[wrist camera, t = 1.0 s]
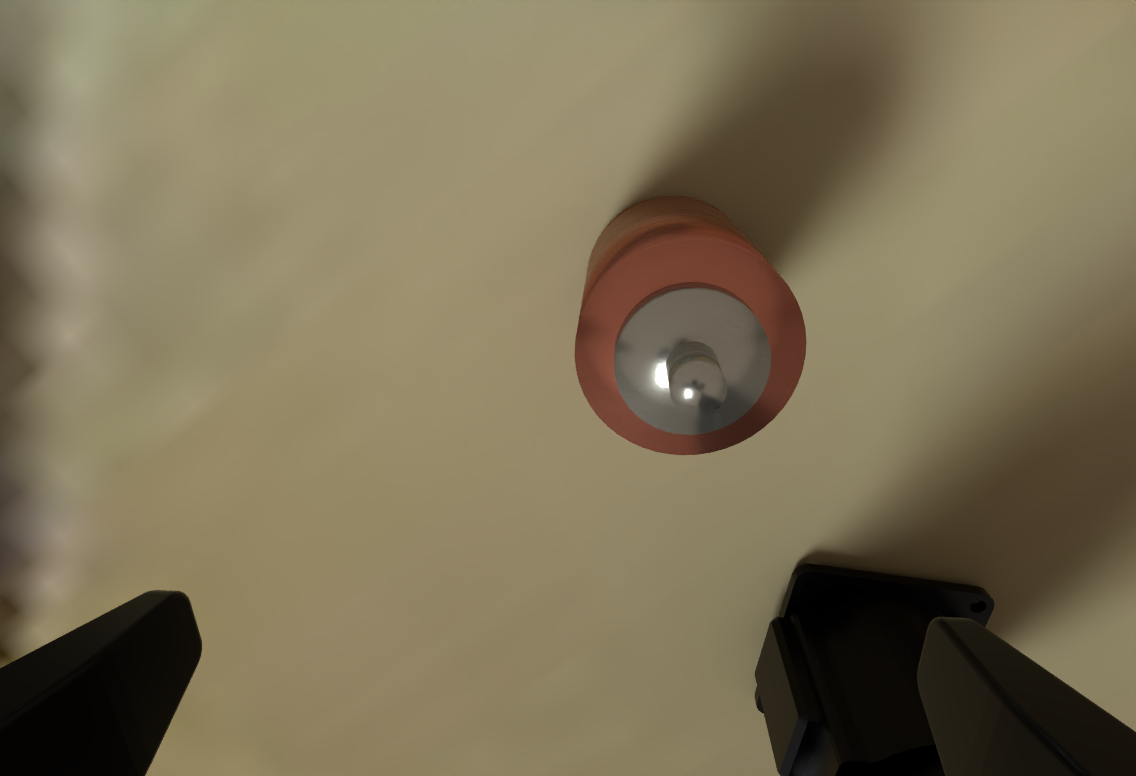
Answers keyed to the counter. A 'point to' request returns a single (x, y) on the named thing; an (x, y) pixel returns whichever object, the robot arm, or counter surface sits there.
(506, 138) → the counter surface
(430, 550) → the counter surface
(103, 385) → the counter surface
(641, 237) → the spout can
